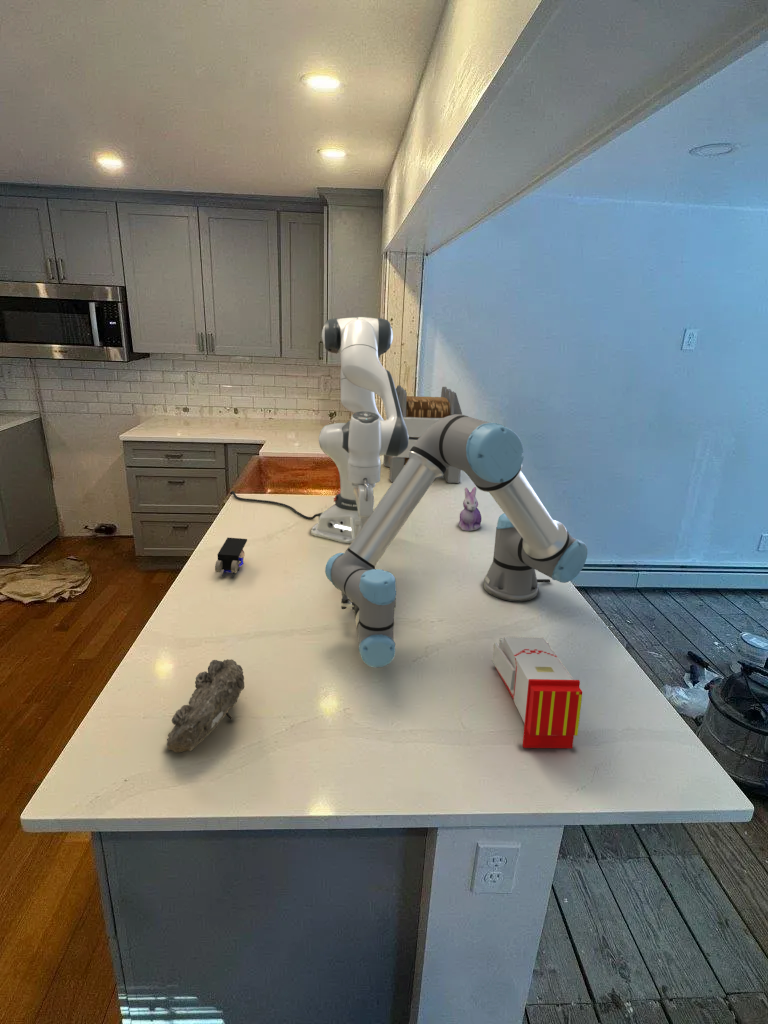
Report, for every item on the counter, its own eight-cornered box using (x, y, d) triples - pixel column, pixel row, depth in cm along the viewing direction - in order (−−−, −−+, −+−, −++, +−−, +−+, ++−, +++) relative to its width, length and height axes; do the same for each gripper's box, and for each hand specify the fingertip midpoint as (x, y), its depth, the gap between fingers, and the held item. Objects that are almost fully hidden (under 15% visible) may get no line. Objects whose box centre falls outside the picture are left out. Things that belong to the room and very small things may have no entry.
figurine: (467, 533, 203) (471, 493, 198) (451, 523, 211) (454, 485, 206) (488, 529, 207) (492, 490, 202) (471, 520, 215) (475, 482, 210)
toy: (540, 620, 128) (592, 687, 99) (535, 674, 131) (584, 755, 102) (487, 619, 128) (523, 686, 99) (483, 673, 131) (517, 754, 101)
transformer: (382, 463, 289) (386, 382, 275) (445, 464, 293) (451, 384, 279) (390, 482, 257) (394, 392, 243) (460, 483, 261) (468, 394, 247)
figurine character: (238, 584, 162) (249, 557, 175) (236, 562, 158) (247, 536, 172) (215, 584, 161) (227, 556, 175) (212, 561, 158) (225, 535, 171)
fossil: (192, 660, 117) (244, 628, 112) (224, 691, 120) (276, 661, 115) (142, 746, 98) (202, 712, 93) (182, 779, 101) (242, 748, 96)
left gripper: (379, 485, 142) (377, 536, 147) (371, 464, 162) (370, 509, 166) (354, 485, 142) (353, 536, 146) (349, 464, 161) (348, 509, 165)
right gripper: (331, 632, 132) (329, 586, 154) (409, 630, 134) (395, 585, 156) (332, 604, 129) (329, 561, 151) (411, 602, 132) (397, 560, 153)
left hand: (362, 522), depth 156 cm, fingers open, 8 cm apart
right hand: (363, 573), depth 154 cm, fingers closed on chest, 5 cm apart
